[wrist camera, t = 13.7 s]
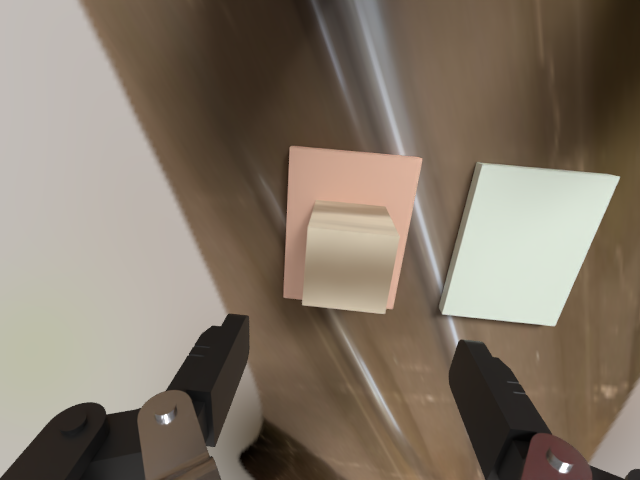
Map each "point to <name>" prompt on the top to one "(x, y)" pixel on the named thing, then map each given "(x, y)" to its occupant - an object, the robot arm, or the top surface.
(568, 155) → the top surface
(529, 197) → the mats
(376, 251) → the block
